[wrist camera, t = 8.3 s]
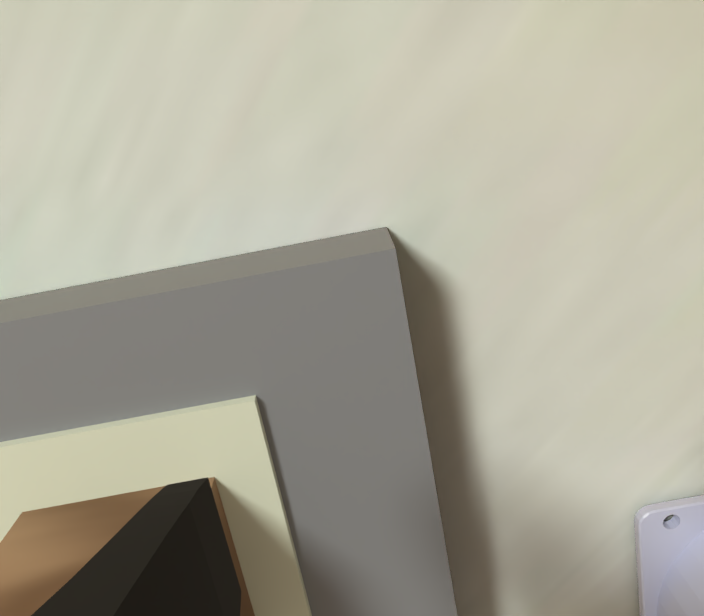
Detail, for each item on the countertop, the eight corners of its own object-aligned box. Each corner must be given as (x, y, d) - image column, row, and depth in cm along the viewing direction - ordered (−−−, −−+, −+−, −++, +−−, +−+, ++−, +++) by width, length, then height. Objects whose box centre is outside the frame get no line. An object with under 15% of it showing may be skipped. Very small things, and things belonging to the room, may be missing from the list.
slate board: (386, 226, 18) (396, 251, 15) (456, 635, 22) (474, 709, 20) (-191, 336, 18) (-279, 379, 16) (-11, 716, 23) (-56, 800, 20)
